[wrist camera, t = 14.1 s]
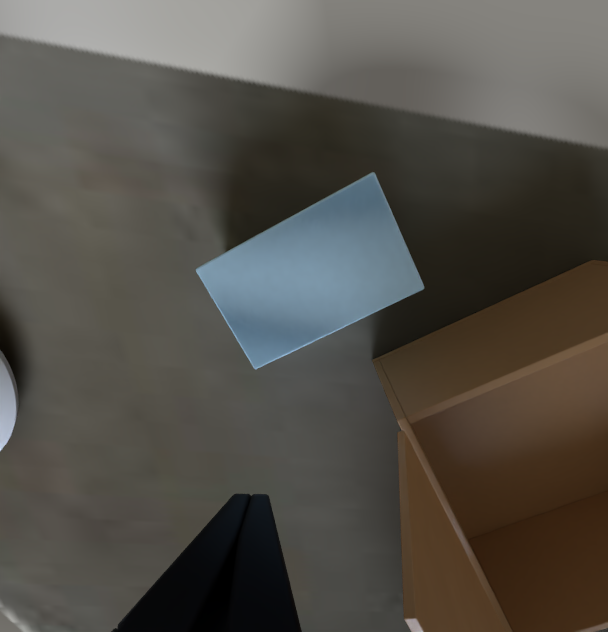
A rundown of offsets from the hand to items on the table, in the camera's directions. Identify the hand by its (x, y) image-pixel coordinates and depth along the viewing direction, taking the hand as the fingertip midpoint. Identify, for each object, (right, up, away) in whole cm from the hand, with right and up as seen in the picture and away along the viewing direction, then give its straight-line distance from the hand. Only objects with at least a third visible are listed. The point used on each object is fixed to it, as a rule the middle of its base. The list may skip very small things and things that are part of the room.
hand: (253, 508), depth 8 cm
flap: (+8, -7, +4) cm, 11 cm away
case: (+2, +7, +10) cm, 13 cm away
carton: (+14, -2, +12) cm, 19 cm away
